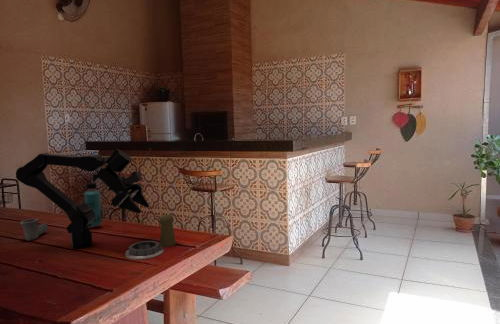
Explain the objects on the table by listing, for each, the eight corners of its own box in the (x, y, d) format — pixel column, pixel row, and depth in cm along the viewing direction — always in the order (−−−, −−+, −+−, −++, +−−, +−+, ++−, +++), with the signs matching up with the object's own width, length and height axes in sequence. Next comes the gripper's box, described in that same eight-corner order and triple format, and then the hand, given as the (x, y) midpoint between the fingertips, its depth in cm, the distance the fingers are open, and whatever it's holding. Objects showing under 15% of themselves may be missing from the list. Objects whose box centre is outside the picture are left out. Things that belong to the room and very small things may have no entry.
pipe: (51, 232, 161) (49, 214, 160) (31, 242, 148) (29, 222, 147) (38, 232, 162) (36, 214, 161) (17, 242, 149) (15, 222, 148)
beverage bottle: (86, 227, 168) (82, 182, 166) (102, 225, 171) (98, 181, 168) (86, 230, 162) (82, 185, 160) (103, 228, 165) (99, 183, 162)
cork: (156, 245, 140) (154, 216, 138) (166, 240, 145) (165, 212, 144) (169, 247, 137) (167, 217, 136) (179, 242, 142) (177, 214, 141)
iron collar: (131, 262, 123) (130, 254, 123) (121, 251, 134) (120, 244, 134) (169, 253, 130) (168, 246, 130) (156, 244, 141) (156, 237, 141)
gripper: (117, 168, 129) (151, 199, 130) (136, 162, 147) (165, 189, 148) (96, 191, 130) (130, 222, 131) (117, 182, 149) (146, 209, 149)
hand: (144, 209), depth 140 cm, fingers open, 9 cm apart
